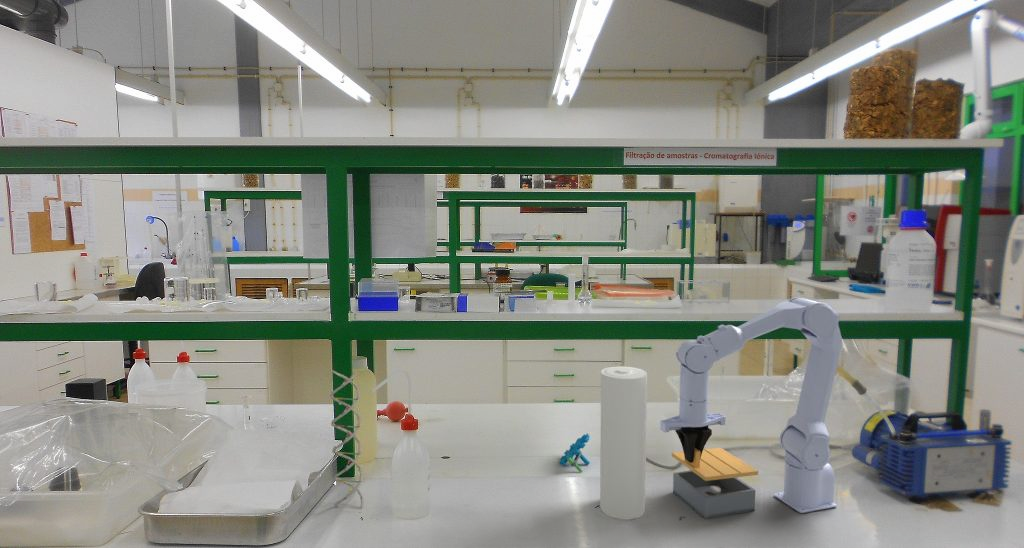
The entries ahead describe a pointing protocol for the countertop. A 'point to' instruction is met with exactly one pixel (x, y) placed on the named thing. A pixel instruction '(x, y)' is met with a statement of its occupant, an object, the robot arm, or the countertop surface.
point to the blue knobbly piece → (575, 453)
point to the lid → (715, 464)
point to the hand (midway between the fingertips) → (692, 460)
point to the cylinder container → (623, 442)
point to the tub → (714, 494)
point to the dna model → (355, 488)
